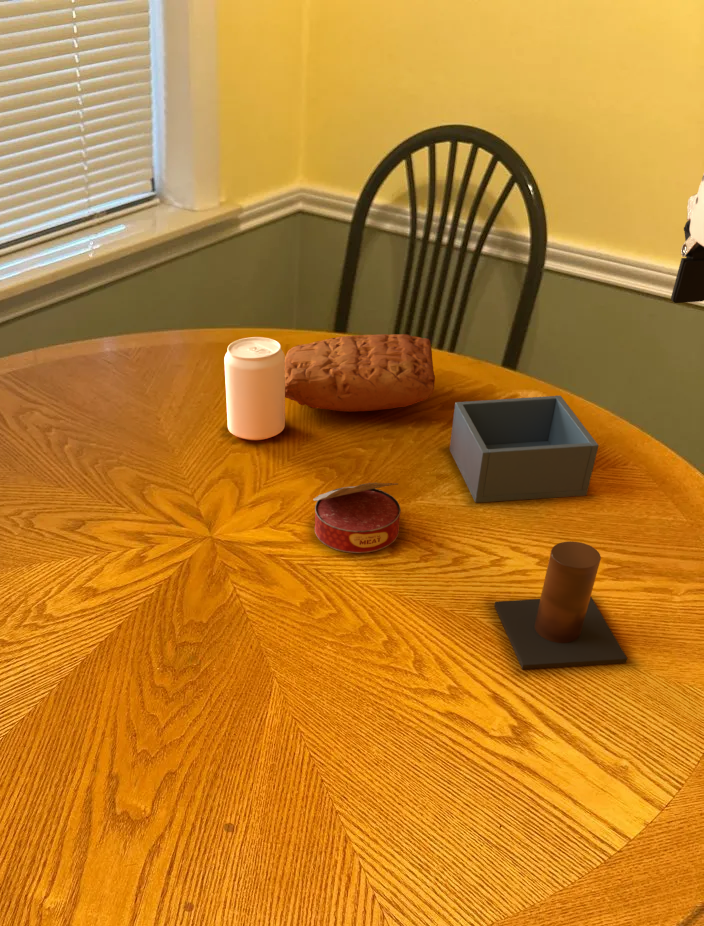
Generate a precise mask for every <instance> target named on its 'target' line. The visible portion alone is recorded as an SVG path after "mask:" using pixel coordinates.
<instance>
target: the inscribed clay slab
mask: <svg viewBox="0 0 704 926" xmlns="http://www.w3.org/2000/svg"><path fill="white" fill-rule="evenodd" d="M433 361H434V360H433V350H432V344H431V340H430V339H429V338H424V337H423V338H422V337H420V336H416V335H415V336H412V335H410V334H407V333H402V334H401V333H399V334H398V333H397V334H396V333H395V334H394V333H393V334H388V333H387V334H385V333H383V334H381V333H379V334H363V335H362V334H359V335H346V336H337V337H331V338H327V339H323V340H317V341H313V342H309V343H304V344H298V345H295V346H293V347H291V348H290V349H288V350H287V352H286V355H285V399H289V400H291V401H295V402H296V403H297V404H299V405H301V406H307V407H308V408H311V409H321V410H331V411H339V412H369V411H378V410H389V409H395V408H396V409H397V408H404V407H408V406H411V405H414V404H416V403H419V402H423V401H425V400H427V399H429V398H430V397H431V396H432V395H433V392H434V390H435V388H436V387H435V385H436V384H435V383H436V376H435V372H434V362H433Z"/></svg>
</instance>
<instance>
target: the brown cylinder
mask: <svg viewBox="0 0 704 926" xmlns="http://www.w3.org/2000/svg"><path fill="white" fill-rule="evenodd" d="M601 556H602V555H601V554H600V552H599V551H598V549H596V548H595V547H594V546H592V545H590V544H587V543H584V542H580V541H573V540H572V541H561V542H558V543H556V544H554V546H553V547H552V548H551V549H550V554H549V559H548V563H547V568H546V572H545V576H544V581H543V585H542V590H541V593H540V594H541V595H540V598H539V599H540V603H539V607H538V612H537V616H536V621H535V630H536V632H537V633H538V634H539V635H540V636H541V637H543V638H544V639H546V640H549V641H552V642H557V643H568V642H572V641H574V640H576V639H577V638H579V636H580V634H581V631H582V627H583V623H584V619H585V616H586V612H587V608H588V605H589V601H590V597H592V593H593V589H594V586H595V583H596V579H597V576H598V575H597V574H598V571H599V568H600V564H601V561H602V557H601Z"/></svg>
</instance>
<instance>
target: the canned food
mask: <svg viewBox="0 0 704 926" xmlns="http://www.w3.org/2000/svg"><path fill="white" fill-rule="evenodd" d="M395 485H399V483H389V482H388V483H386V482H385V483H384V482H368V483H361V484H358V485H355V486H353V485H352V486H344V487H339V488H335V489H332V490H329V491H327V492H325V493H321V494H319V495H318V496H316V497H314V498H313V499H312V500H313V502H315V506H314V510H315V511H314V513H315V514H314V518H315V519H314V533H315V537H317V539H318V540H319V542H320V543H322V544H323V545H324V546H325V547H326V546H327V547H328V548H330V549H333V550H336V551H338V552H343V553H350V554H366V553H374V552H377V551H380V550H383V549H385V548H387V547H389V546H390V545H392V544H393V543H394V542H395V541H396V539H397V538H398V536H399V533H400V532H399V531H400V530H399V529H400V518H401V512H402V510H401V505H400V503H399V501H398V500H397V499H396V498H395V497H394V496H393V495H392V494H390V493H388V492H385V491H384V490H381V489H380V488H385V487H390V486H391V487H392V486H395Z"/></svg>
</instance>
